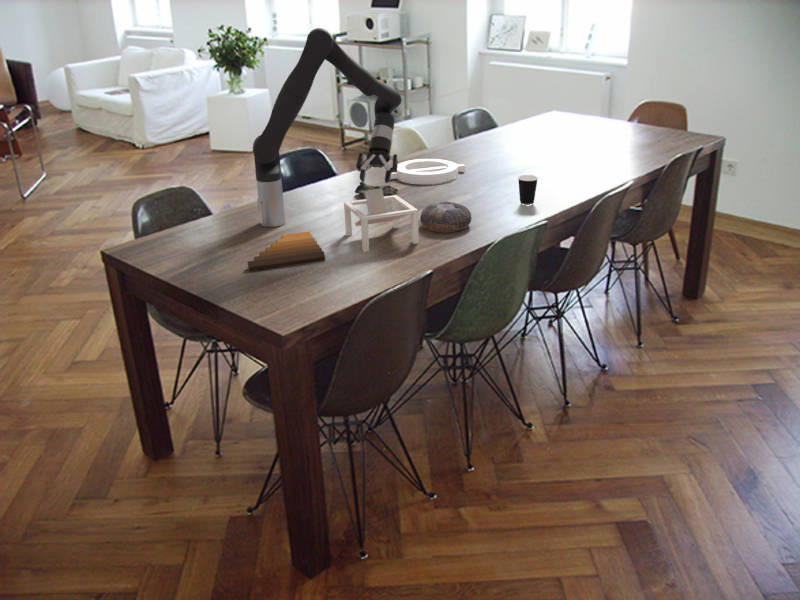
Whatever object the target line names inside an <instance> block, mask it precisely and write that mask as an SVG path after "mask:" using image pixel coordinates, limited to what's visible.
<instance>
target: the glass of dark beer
mask: <svg viewBox="0 0 800 600" xmlns="http://www.w3.org/2000/svg"><path fill="white" fill-rule="evenodd" d="M538 179H539V177H538V176H537V175H534V174H524V175H523V174H522V175H519V176H518V177H517V180H518V192H519V193H518V194H519V203H520V205H521V204H524V205H530V204H533V205H534V203H535V197H536V192H537V191H536V190H537V186H538Z"/></svg>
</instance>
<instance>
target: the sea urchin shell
mask: <svg viewBox="0 0 800 600" xmlns="http://www.w3.org/2000/svg"><path fill="white" fill-rule="evenodd" d="M419 218H420V223H421V225H422V226H423V227H424V228H425V229H427V230H430V231H431V232H434V233H435V232H436V233H439V234H440V233H442V234H448V233H449V232H450V233H453V232H455V231H456V232H458V231H460V230H462V231H463V230H465V229H466V228H467V227H468V226H469V225H470V224H471V223H472V222H471V221H472V212H471V211H470V209H469V208H468V207H466V206H465V205H463V204H461V203H457V202H455V201H447V200H445V201H441V202H435V203H431V204H429V205H427V206H425V207H424V208H423V209H422V211H421V214H420V216H419ZM456 232H455V233H456ZM450 233H449V234H450Z"/></svg>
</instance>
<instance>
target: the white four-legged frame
mask: <svg viewBox="0 0 800 600" xmlns="http://www.w3.org/2000/svg"><path fill="white" fill-rule="evenodd" d="M387 201H391V211H396V212H391V211H388V212H389V213H382V214H375V215H369V214H367V215H368V216H366V215H365V213H364V212H362V211H361V210H360V209H358V208H357V207H356V206H359V205H364V204H365V205H367V203H366V199H364V198H363V199H357V200H351V201H344V202H343V206H344V207H343V209H344V224H345V225H344V226H345V227H344V229H345V235H346V236H353V230H352V229H353V228H352V213H353V214H354V215H355V216H356V217H357V218H359V220H361V226H360V227H361V246H362V248H361V249H362V252H364V253H366V252H370V244H369V243H370V242H369V241H370V240H369V224H368V220H373V219H379V218H386V217H393V216H399V215H403V216H405V215H410V223H411V225H410V226H411V231H410V232H411V243H412V244H413V245H415V244H419V210H418V209H417V208H416V207H414V206H413V205H411V204H410V203H408V202H407V201H406V200H404V199H403V198H401V197H400V196H399V195H398V194H396V195H392V196H384V202H387ZM399 204H400V206H402V207H403V208H404V209H408V210H404V209H401V210H402V211H397V210H400V209H399ZM392 228H393V229H399V228H400V218H398V219H396V220H394V221H392Z"/></svg>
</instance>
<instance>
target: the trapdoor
mask: <svg viewBox="0 0 800 600" xmlns="http://www.w3.org/2000/svg"><path fill="white" fill-rule="evenodd" d="M402 210H408V209H406V208H404V209H399V210H397V211H402ZM389 212H396V211H392V210H391V211H386V212H384V213H389ZM377 214H382V213H377ZM368 215H369V214H367V215H365V216H368ZM370 215H375V214H370ZM403 216H404V215H399V216H393V217H386V218H379V219H373V220H368V225H372V224H373V225H374V224H381V223H387V222H393V221H394V220H396V219H398V218H399V219H400V218H401V217H403ZM354 224H355V227H358V226H359V227H361V219H359V220H358V221H357V222H355V223H354Z"/></svg>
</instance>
